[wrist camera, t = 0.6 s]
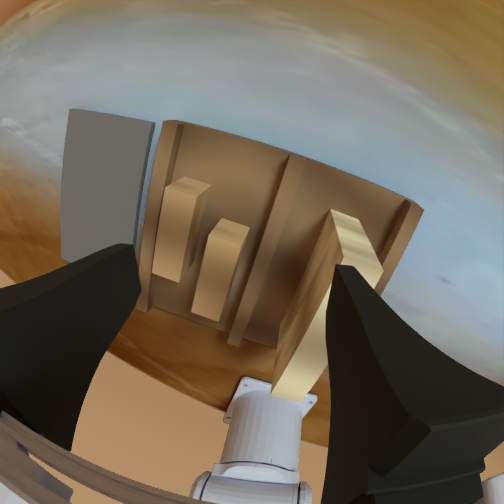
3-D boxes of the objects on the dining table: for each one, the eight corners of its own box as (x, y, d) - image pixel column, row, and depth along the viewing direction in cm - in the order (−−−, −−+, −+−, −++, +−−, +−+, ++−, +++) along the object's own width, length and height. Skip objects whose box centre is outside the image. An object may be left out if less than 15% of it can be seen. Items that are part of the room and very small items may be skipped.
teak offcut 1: (193, 262, 22) (179, 282, 19) (168, 253, 22) (151, 272, 19) (211, 184, 19) (196, 196, 17) (183, 176, 19) (165, 187, 17)
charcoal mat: (131, 285, 25) (129, 288, 24) (64, 256, 25) (61, 258, 25) (155, 122, 19) (151, 123, 18) (73, 108, 19) (69, 109, 18)
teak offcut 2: (228, 297, 23) (218, 321, 20) (203, 289, 23) (191, 312, 20) (250, 227, 20) (241, 245, 17) (221, 218, 20) (208, 234, 17)
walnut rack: (329, 357, 25) (330, 373, 23) (146, 296, 25) (135, 309, 23) (413, 201, 18) (424, 209, 16) (175, 120, 18) (163, 120, 17)
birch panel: (303, 332, 23) (300, 402, 17) (280, 325, 23) (270, 394, 17) (358, 219, 19) (383, 271, 12) (330, 208, 19) (343, 256, 12)
